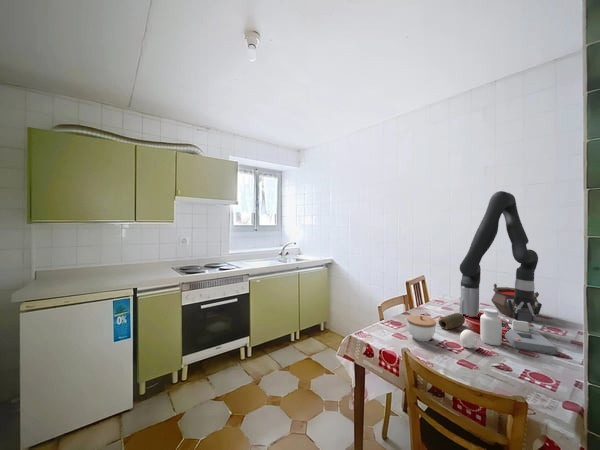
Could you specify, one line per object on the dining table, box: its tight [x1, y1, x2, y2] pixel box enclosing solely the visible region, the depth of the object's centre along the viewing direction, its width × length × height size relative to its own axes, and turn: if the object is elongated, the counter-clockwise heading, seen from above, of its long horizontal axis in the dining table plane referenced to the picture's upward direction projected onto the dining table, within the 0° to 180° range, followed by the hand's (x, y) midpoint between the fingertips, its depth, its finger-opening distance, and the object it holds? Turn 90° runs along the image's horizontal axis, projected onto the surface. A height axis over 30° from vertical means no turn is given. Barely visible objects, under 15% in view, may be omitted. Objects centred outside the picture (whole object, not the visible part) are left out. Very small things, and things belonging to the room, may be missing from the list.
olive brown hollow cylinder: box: [438, 312, 466, 330], centre depth 135 cm, size 15×7×7 cm, turn 120°
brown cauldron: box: [490, 283, 540, 318], centre depth 153 cm, size 24×24×16 cm
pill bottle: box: [479, 308, 503, 346], centre depth 118 cm, size 8×8×15 cm
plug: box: [516, 309, 533, 330], centre depth 130 cm, size 5×5×8 cm
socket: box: [502, 326, 557, 355], centre depth 117 cm, size 14×16×4 cm
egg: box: [459, 329, 478, 349], centre depth 113 cm, size 6×6×8 cm
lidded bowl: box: [406, 314, 437, 343], centre depth 122 cm, size 13×13×11 cm
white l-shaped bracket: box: [507, 319, 529, 332], centre depth 125 cm, size 6×6×4 cm
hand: (522, 320), depth 130 cm, fingers closed on plug, 5 cm apart
